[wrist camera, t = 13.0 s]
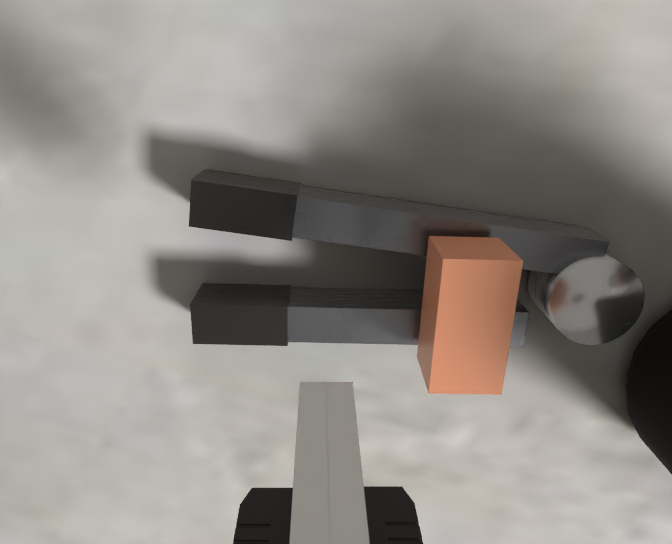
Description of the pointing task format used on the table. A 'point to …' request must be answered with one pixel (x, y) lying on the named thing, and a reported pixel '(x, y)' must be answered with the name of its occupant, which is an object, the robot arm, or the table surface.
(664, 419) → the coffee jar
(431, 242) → the orange rectangular block
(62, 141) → the table surface
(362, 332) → the tongs fixed arm
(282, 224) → the grey long bar
